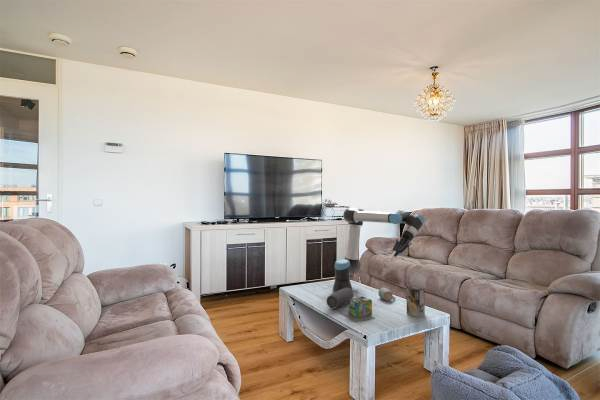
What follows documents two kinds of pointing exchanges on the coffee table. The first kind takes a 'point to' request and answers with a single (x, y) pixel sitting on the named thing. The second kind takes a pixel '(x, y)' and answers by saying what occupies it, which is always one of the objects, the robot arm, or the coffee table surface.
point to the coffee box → (415, 301)
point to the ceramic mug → (386, 294)
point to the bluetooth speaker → (339, 298)
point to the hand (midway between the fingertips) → (390, 259)
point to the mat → (353, 318)
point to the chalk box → (359, 306)
